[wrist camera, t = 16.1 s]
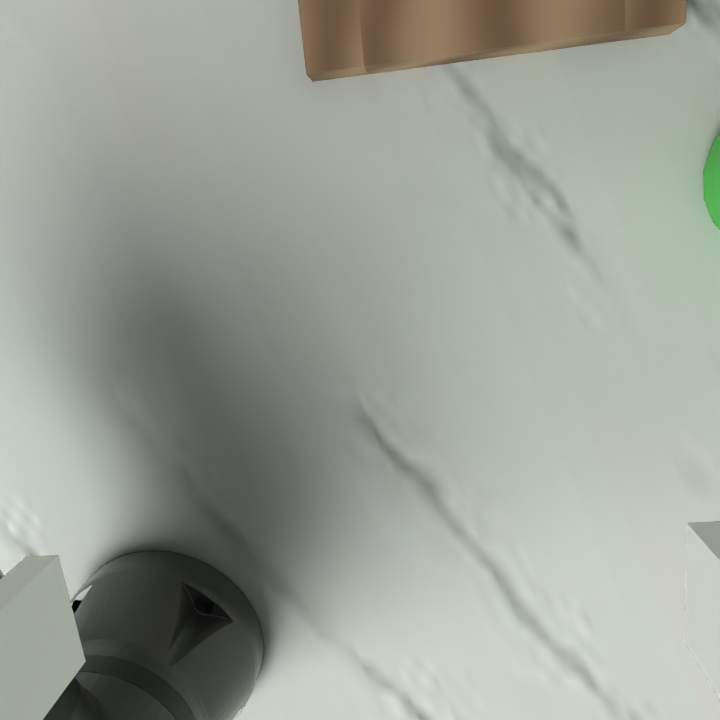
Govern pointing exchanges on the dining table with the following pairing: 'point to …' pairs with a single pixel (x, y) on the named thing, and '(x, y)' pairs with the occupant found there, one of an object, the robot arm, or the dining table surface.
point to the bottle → (713, 182)
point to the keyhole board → (465, 30)
